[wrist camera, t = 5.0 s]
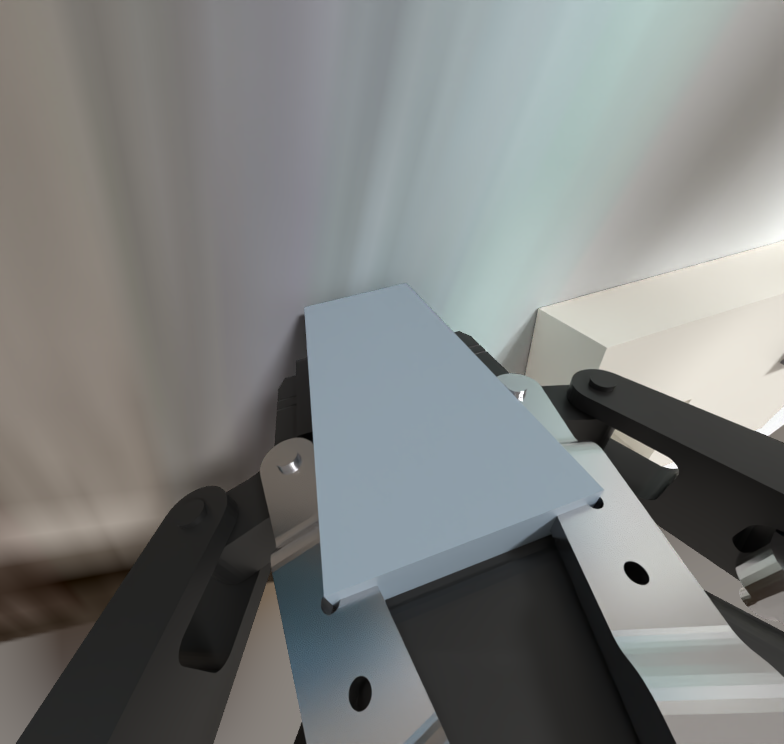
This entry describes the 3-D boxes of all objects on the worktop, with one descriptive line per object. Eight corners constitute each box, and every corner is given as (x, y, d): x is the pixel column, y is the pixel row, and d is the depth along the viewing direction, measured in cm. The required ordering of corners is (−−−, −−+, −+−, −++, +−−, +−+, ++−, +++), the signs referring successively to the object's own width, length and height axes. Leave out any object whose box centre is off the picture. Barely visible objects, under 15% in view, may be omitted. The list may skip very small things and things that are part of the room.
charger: (304, 307, 10) (324, 597, 3) (406, 282, 11) (604, 490, 4) (332, 387, 13) (378, 650, 6) (414, 364, 13) (545, 580, 6)
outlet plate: (538, 308, 14) (625, 358, 10) (831, 227, 17) (984, 244, 13) (506, 466, 23) (548, 524, 19) (704, 396, 25) (775, 435, 22)
